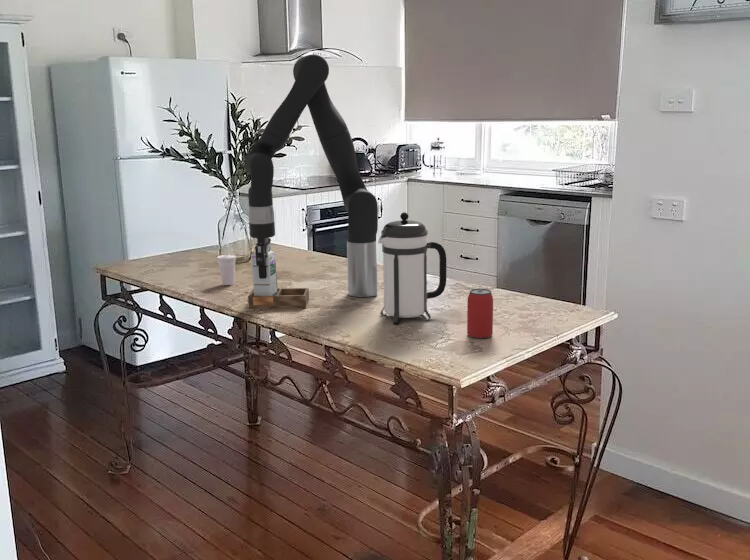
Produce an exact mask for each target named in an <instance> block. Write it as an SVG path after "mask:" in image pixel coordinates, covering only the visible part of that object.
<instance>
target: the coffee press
mask: <svg viewBox="0 0 750 560" xmlns="http://www.w3.org/2000/svg"><path fill="white" fill-rule="evenodd" d="M409 217H410V216H409V214H408V213H407V212H406V211H405V212H404V211H403V212H401V214H400V220H394V221H389V222H388V223H386V224H385V225H384V226H383V229H382V230H381V231H380V233H381V235H380V236H379V239H378V241H377V244H379V245H380V244H382V245H381V247H382V249H381V251H382V261H383V263H382V264H383V265H382V269H383V270H382V271H383V272H382V275H383V277H382V278H383V308H382V309H381V310H380V312H379V314H380V315H381V316H383V317H384V316H386V315H388V316H390V317H393V319H392V324H393V325H399V324H400V321H401V319H402V318H403V319H404V318H405V319H407V318H409V319H410V318H417V317H422V319H423V320H425V321H426V322H428V321H429V320H430V319H431V314H430V313H429V311H428V307H427V306H428V304H427V303H428V300H429V299H433V298H438V297H439V296H441V295H442V294H443V292H444V291H445V289H446V285H447V254H446V249H445V248H444V246H443V245H442V244H440V243H438V242H434V241H429V242H427V237H428V235H429V231H428V230H427V228H426V226H425V224H423V223H422V222H420V221H418V220H417V221H416V220H408V219H409ZM428 249H431V250H432V249H434V250H436V251H437V252H438V256H439V257H438V258H439V282H438V286H437V288H436V289H435V290H434V291H427V288H428V287H427V285H428V284H427V283H428V281H427V279H428V278H427V275H428V273H427V270H428V269H427V267H428V265H427V261H428V260H427V259H428V258H427V251H428ZM384 312H385V313H384ZM424 314H426V315H424ZM426 316H427V317H428V318H427V317H426Z"/></svg>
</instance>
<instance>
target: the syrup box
mask: <svg viewBox="0 0 750 560" xmlns="http://www.w3.org/2000/svg"><path fill="white" fill-rule="evenodd" d="M265 255H266V253H265ZM250 261H251V274H252V286H253V289H254V296H276V294H277V293H278V289H277V288H278V276H277V265H276V263H277V262H276V251H275V250H272V249H271V250H270V251H268V257H267V258H266V263H267V265H266V271H267V277H266V278H265V279H260V278H259V267H258V265H257V264H256V252H255V251H254V252H253V253H251V254H250ZM260 261H263V258H262V259H260ZM253 289H252V290H253Z"/></svg>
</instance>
